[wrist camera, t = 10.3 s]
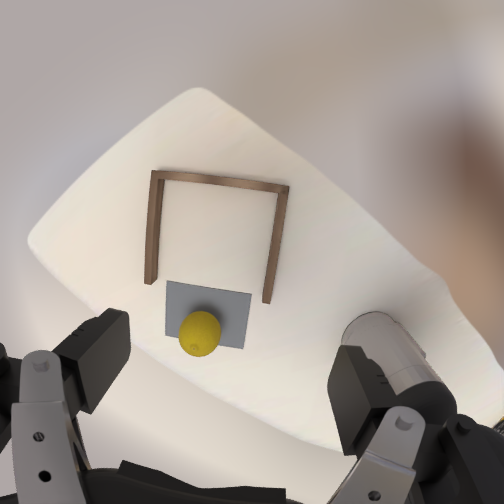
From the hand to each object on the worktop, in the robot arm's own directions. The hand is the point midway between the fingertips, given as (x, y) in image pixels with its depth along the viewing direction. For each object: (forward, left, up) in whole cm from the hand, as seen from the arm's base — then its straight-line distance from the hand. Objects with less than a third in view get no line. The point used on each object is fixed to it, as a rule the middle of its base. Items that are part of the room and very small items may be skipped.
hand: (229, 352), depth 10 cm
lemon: (+5, +14, -28) cm, 32 cm away
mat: (+5, +14, -28) cm, 32 cm away
